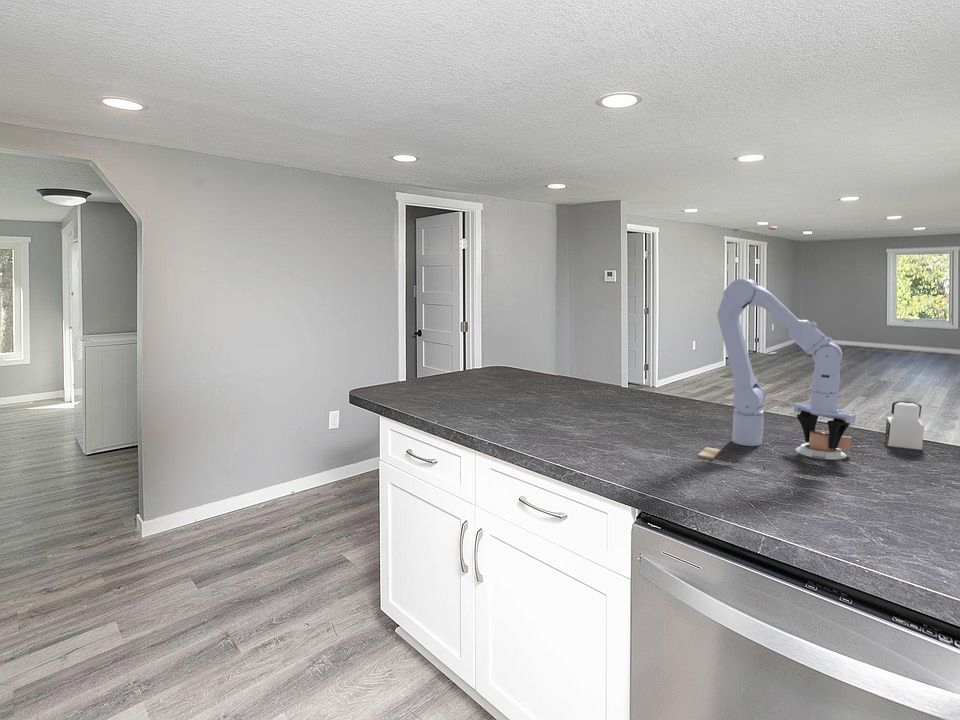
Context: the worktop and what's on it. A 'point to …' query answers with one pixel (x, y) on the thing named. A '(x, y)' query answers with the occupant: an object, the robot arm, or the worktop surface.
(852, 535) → the worktop surface
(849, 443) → the mug
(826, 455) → the plate
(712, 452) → the mat
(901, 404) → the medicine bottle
